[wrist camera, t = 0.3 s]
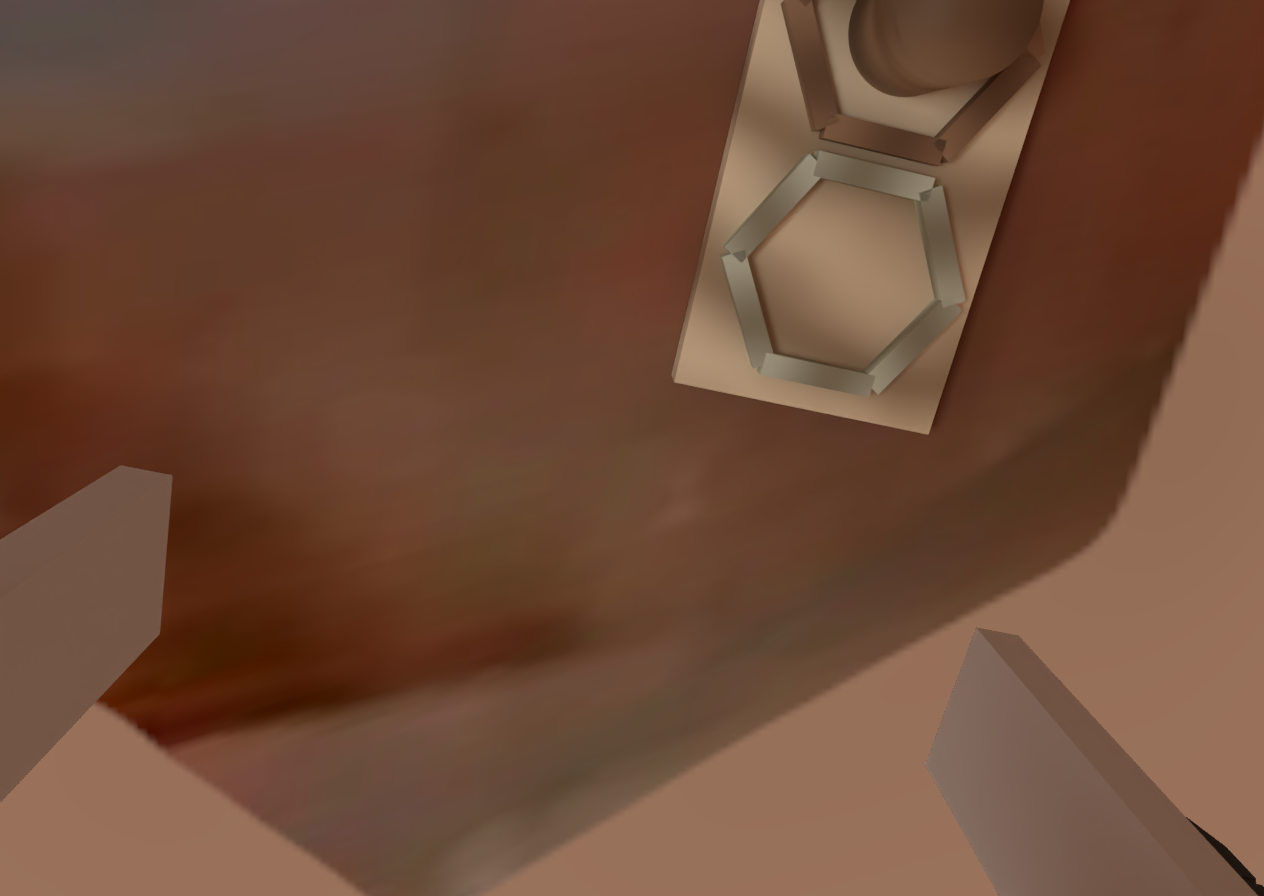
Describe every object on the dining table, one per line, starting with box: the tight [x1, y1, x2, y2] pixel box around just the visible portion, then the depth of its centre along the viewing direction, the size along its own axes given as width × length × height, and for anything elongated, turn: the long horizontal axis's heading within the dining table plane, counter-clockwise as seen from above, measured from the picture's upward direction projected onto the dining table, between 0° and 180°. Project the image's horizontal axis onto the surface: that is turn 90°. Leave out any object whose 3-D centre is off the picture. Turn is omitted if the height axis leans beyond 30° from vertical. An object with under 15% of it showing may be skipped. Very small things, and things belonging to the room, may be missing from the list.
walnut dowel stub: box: [848, 0, 1044, 97], centre depth 33 cm, size 5×5×6 cm
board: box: [671, 0, 1070, 435], centre depth 37 cm, size 22×12×2 cm, turn 168°
